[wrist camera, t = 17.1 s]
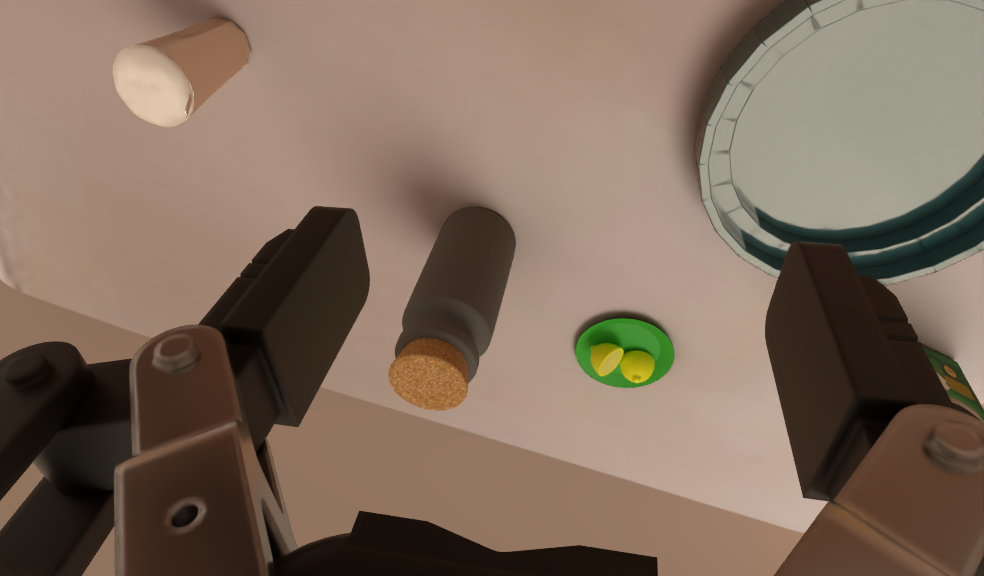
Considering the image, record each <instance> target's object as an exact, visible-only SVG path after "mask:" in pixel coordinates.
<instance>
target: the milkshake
mask: <svg viewBox="0 0 984 576" xmlns="http://www.w3.org/2000/svg"><path fill="white" fill-rule="evenodd" d="M250 51H251V48H250V46H249V43H248V40H247V38H246V35H245V33H244V32H243V31H242V30H241V29H240V28H239V27H237V26H236V25H235V24H234V23H233V22H232V21H228V20H224V19H220V18H214V19H211V20H209V21H206V22H203V23H200V24H197V25H194V26H192V27H189V28H186V29H183V30H180V31H178V32H175V33H172V34H169V35H166V36H162V37H159V38H156V39H152V40H149V41H146V42H142V43H139V44H136V45H132V46H128V47H125V48H124V49H122V50H121V51H120V52H119V54H118V55H117V57H116V59H115V62H114V64H113V76H114V81H115V86H116V90H117V92H118V94H119V95H120V97H121V98H122V99H123V100H124V102H125V103H126V104H127V106H128V107H129V109H130V110H131V111H132V112H133V113H134V114H135V115H137V116H138V117H140V118H141V119H143V120H145V121H147V122H150V123H153V124H155V125H158V126H162V127H173V126H177V125H179V124H181V123H183V122H184V121H186V120H187V119H188V118H189V117H190V116H191V115H192V114H193V113H194V112H195V111H196V110H197V109H198V108H199V107H200V106H201V105H202V104H203V103H204V102H205V101H206V100H207V99H208V98H209V97H210V96H211V95H213V94H214V93H215V92H216V91H217V90H218V89H219V88H220V87H221V86H223V85H224V84H225V83H226V82H227V81H228V80H229V79H230V78H232V77H233V76H234V75H235V74H236V73H237V72H238V71H239V70H241V69H242V68H243V67H244V66H245V65H246V64H247V63H248V59H249V55H250Z"/></svg>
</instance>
